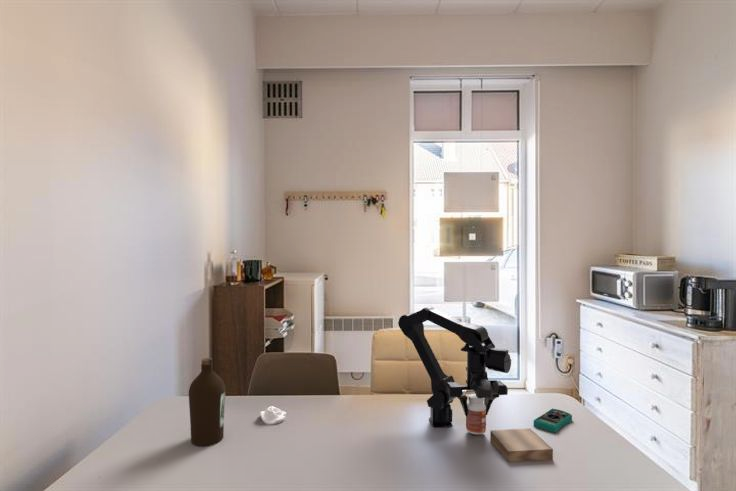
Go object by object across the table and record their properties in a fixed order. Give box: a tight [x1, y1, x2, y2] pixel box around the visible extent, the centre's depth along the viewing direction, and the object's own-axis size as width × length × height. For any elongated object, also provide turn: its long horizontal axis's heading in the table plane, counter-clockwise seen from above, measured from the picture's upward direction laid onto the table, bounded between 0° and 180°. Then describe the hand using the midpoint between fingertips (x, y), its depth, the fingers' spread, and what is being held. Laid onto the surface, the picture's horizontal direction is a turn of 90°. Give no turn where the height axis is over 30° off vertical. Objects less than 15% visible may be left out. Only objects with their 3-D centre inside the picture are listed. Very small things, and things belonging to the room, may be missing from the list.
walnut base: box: [489, 428, 554, 463], centre depth 126 cm, size 13×13×3 cm
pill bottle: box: [465, 393, 487, 435], centre depth 136 cm, size 6×6×11 cm
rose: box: [259, 405, 287, 426], centre depth 147 cm, size 10×4×10 cm
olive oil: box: [188, 357, 226, 447], centre depth 132 cm, size 11×11×25 cm
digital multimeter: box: [533, 408, 573, 434], centre depth 144 cm, size 7×15×3 cm, turn 134°
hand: (475, 415), depth 136 cm, fingers closed on pill bottle, 6 cm apart
